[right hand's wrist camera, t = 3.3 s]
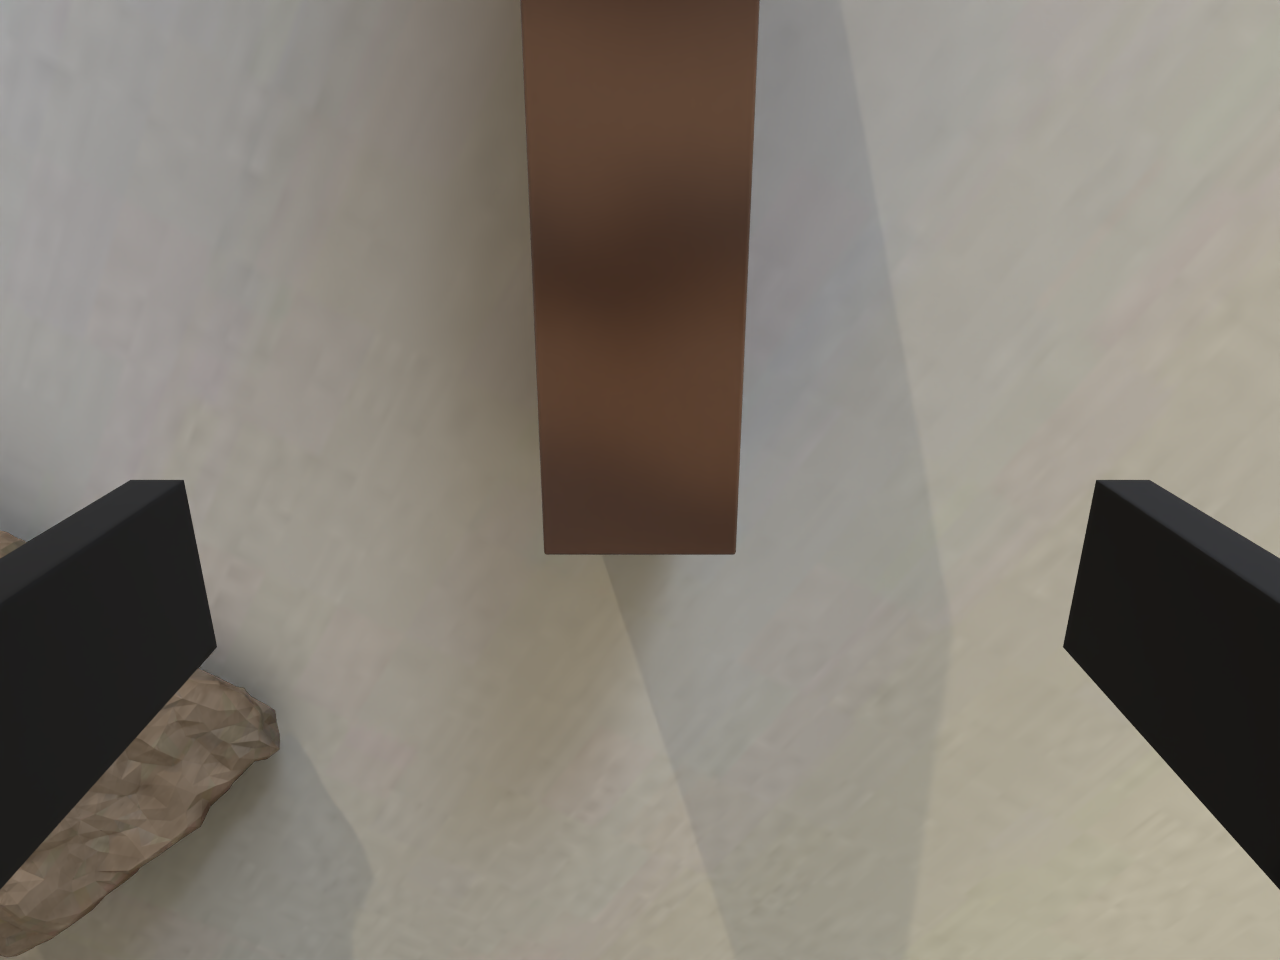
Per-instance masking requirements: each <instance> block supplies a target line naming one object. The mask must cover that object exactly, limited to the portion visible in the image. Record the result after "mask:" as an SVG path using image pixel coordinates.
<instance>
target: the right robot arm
mask: <svg viewBox="0 0 1280 960" xmlns="http://www.w3.org/2000/svg"><path fill="white" fill-rule="evenodd" d="M216 647H217V645H216V640H215V635H214V630H213V625H212V620H211V615H210V610H209V605H208V600H207V595H206V590H205V585H204V580H203V575H202V569H201V564H200V559H199V554H198V549H197V544H196V539H195V534H194V529H193V524H192V519H191V514H190V509H189V504H188V499H187V494H186V489H185V484H184V480H130V481H128V482H126V483H125V484H123V485H121V486H120V487H118V488H116V489H115V490H113V491H111V492H110V493H108V494H107V495H105V496H103V497H102V498H100V499H98V500H97V501H95V502H93V503H92V504H90V505H88V506H87V507H85V508H83V509H82V510H80V511H78V512H77V513H75V514H73V515H72V516H70V517H68V518H67V519H65V520H63V521H62V522H60V523H58V524H57V525H55V526H53V527H52V528H50V529H48V530H47V531H45V532H43V533H42V534H40V535H38V536H37V537H35V538H33V539H32V540H30V541H28V542H27V543H25V544H24V545H22V546H20V547H19V548H17V549H15V550H14V551H12V552H10V553H9V554H7V555H5V556H4V557H2V558H0V889H1V888H2V887H3V886H4V885H5V884H6V883H7V882H8V880H9V879H10V878H11V877H12V876H13V875H14V874H15V873H16V871H17V870H18V869H19V868H20V867H21V866H22V865H23V864H24V863H25V861H26V860H27V859H28V858H29V857H30V856H31V855H32V854H33V852H34V851H35V850H36V849H37V848H38V847H39V846H40V845H41V843H42V842H43V841H44V840H45V839H46V838H47V837H48V836H49V835H50V833H51V832H52V831H53V830H54V829H55V828H56V827H57V826H58V824H59V823H60V822H61V821H62V820H63V819H64V818H65V817H66V815H67V814H68V813H69V812H70V811H71V810H72V809H73V808H74V807H75V805H76V804H77V803H78V802H79V801H80V800H81V799H82V798H83V796H84V795H85V794H86V793H87V792H88V791H89V790H90V789H91V787H92V786H93V785H94V784H95V783H96V782H97V781H98V780H99V779H100V777H101V776H102V775H103V774H104V773H105V772H106V771H107V770H108V768H109V767H110V766H111V765H112V764H113V763H114V762H115V761H116V759H117V758H118V757H119V756H120V755H121V754H122V753H123V752H124V751H125V749H126V748H127V747H128V746H129V745H130V744H131V743H132V742H133V740H134V739H135V738H136V737H137V736H138V735H139V734H140V733H141V731H142V730H143V729H144V728H145V727H146V726H147V725H148V724H149V723H150V721H151V720H152V719H153V718H154V717H155V716H156V715H157V714H158V712H159V711H160V710H161V709H162V708H163V707H164V706H165V705H166V703H167V702H168V701H169V700H170V699H171V698H172V697H173V696H174V695H175V693H176V692H177V691H178V690H179V689H180V688H181V687H182V686H183V684H184V683H185V682H186V681H187V680H188V679H189V678H190V677H191V675H192V674H193V673H194V672H195V671H196V670H197V669H198V668H199V667H200V665H201V664H202V663H203V662H204V661H205V660H206V659H207V658H208V656H209V655H210V654H211V653H212V652H213V651H214V650H215V649H216ZM1063 647H1064V649H1065V650H1066V651H1067V652H1068V653H1069V654H1070V655H1071V656H1072V658H1073V659H1074V660H1075V661H1076V662H1077V663H1078V664H1079V665H1080V667H1081V668H1082V669H1083V670H1084V671H1085V672H1086V673H1087V674H1088V675H1089V677H1090V678H1091V679H1092V680H1093V681H1094V682H1095V683H1096V684H1097V686H1098V687H1099V688H1100V689H1101V690H1102V691H1103V692H1104V693H1105V695H1106V696H1107V697H1108V698H1109V699H1110V700H1111V701H1112V702H1113V703H1114V705H1115V706H1116V707H1117V708H1118V709H1119V710H1120V711H1121V712H1122V714H1123V715H1124V716H1125V717H1126V718H1127V719H1128V720H1129V721H1130V723H1131V724H1132V725H1133V726H1134V727H1135V728H1136V729H1137V730H1138V731H1139V733H1140V734H1141V735H1142V736H1143V737H1144V738H1145V739H1146V740H1147V742H1148V743H1149V744H1150V745H1151V746H1152V747H1153V748H1154V749H1155V751H1156V752H1157V753H1158V754H1159V755H1160V756H1161V757H1162V758H1163V759H1164V761H1165V762H1166V763H1167V764H1168V765H1169V766H1170V767H1171V768H1172V770H1173V771H1174V772H1175V773H1176V774H1177V775H1178V776H1179V777H1180V779H1181V780H1182V781H1183V782H1184V783H1185V784H1186V785H1187V786H1188V787H1189V789H1190V790H1191V791H1192V792H1193V793H1194V794H1195V795H1196V796H1197V798H1198V799H1199V800H1200V801H1201V802H1202V803H1203V804H1204V805H1205V807H1206V808H1207V809H1208V810H1209V811H1210V812H1211V813H1212V814H1213V815H1214V817H1215V818H1216V819H1217V820H1218V821H1219V822H1220V823H1221V824H1222V826H1223V827H1224V828H1225V829H1226V830H1227V831H1228V832H1229V833H1230V835H1231V836H1232V837H1233V838H1234V839H1235V840H1236V841H1237V842H1238V843H1239V845H1240V846H1241V847H1242V848H1243V849H1244V850H1245V851H1246V852H1247V854H1248V855H1249V856H1250V857H1251V858H1252V859H1253V860H1254V861H1255V863H1256V864H1257V865H1258V866H1259V867H1260V868H1261V869H1262V870H1263V871H1264V873H1265V874H1266V875H1267V876H1268V877H1269V878H1270V879H1271V880H1272V882H1273V883H1274V884H1275V885H1276V886H1277V887H1278V888H1279V889H1280V558H1278V557H1276V556H1275V555H1273V554H1271V553H1270V552H1268V551H1266V550H1265V549H1263V548H1261V547H1260V546H1258V545H1256V544H1255V543H1253V542H1252V541H1250V540H1248V539H1247V538H1245V537H1243V536H1242V535H1240V534H1238V533H1237V532H1235V531H1233V530H1232V529H1230V528H1228V527H1227V526H1225V525H1223V524H1222V523H1220V522H1218V521H1217V520H1215V519H1213V518H1212V517H1210V516H1208V515H1207V514H1205V513H1203V512H1202V511H1200V510H1198V509H1197V508H1195V507H1193V506H1192V505H1190V504H1188V503H1187V502H1185V501H1183V500H1182V499H1180V498H1178V497H1177V496H1175V495H1173V494H1172V493H1170V492H1169V491H1167V490H1165V489H1164V488H1162V487H1160V486H1159V485H1157V484H1155V483H1154V482H1152V481H1150V480H1096V484H1095V489H1094V494H1093V499H1092V504H1091V509H1090V514H1089V519H1088V524H1087V529H1086V534H1085V539H1084V544H1083V549H1082V554H1081V559H1080V564H1079V569H1078V575H1077V580H1076V585H1075V590H1074V595H1073V600H1072V605H1071V610H1070V615H1069V620H1068V625H1067V630H1066V635H1065V640H1064V645H1063Z"/></svg>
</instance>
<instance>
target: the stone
mask: <svg viewBox="0 0 1280 960" xmlns="http://www.w3.org/2000/svg"><path fill="white" fill-rule="evenodd" d="M25 543H27V542H25V541H23V540H22V539H18V538H16V537H14V536H13V535H11V534H9V533H7V532H4V531H0V558H2V557H4V556H5V555H7V554H9V553H10V552H12V551H14V550H15V549H17V548H19V547H20V546H22V545H24V544H25ZM279 749H280V734H279V730H278V726H277V722H276V714H275V710H274V709H272V708H271V707H269V706H268V705H266V704H264V703H262V702H260V701H258V700H256V699H255V698H253V697H251V696H250V695H249V694H248V692H247V691H246V690H245V689H244V688H240V687H236V686H234V685H232V684H230V683H228V682H226V681H224V680H222V679H220V678H218V677H216V676H214V675H212V674H210V673H207V672H205V671H203V670H201V669H197V670H196V671H195V672H194V673H193V674H192V675H191V677H190V678H189V679H188V680H187V681H186V682H185V683H184V684H183V686H182V687H181V688H180V689H179V690H178V691H177V692H176V693H175V695H174V696H173V697H172V698H171V699H170V700H169V701H168V702H167V703H166V705H165V706H164V707H163V708H162V709H161V710H160V711H159V712H158V714H157V715H156V716H155V717H154V718H153V719H152V720H151V721H150V723H149V724H148V725H147V726H146V727H145V728H144V729H143V730H142V731H141V733H140V734H139V735H138V736H137V737H136V738H135V739H134V740H133V742H132V743H131V744H130V745H129V746H128V747H127V748H126V749H125V751H124V752H123V753H122V754H121V755H120V756H119V757H118V758H117V759H116V761H115V762H114V763H113V764H112V765H111V766H110V767H109V768H108V770H107V771H106V772H105V773H104V774H103V775H102V776H101V777H100V779H99V780H98V781H97V782H96V783H95V784H94V785H93V786H92V787H91V789H90V790H89V791H88V792H87V793H86V794H85V795H84V796H83V798H82V799H81V800H80V801H79V802H78V803H77V804H76V805H75V807H74V808H73V809H72V810H71V811H70V812H69V813H68V814H67V815H66V817H65V818H64V819H63V820H62V821H61V822H60V823H59V824H58V826H57V827H56V828H55V829H54V830H53V831H52V832H51V833H50V835H49V836H48V837H47V838H46V839H45V840H44V841H43V842H42V843H41V845H40V846H39V847H38V848H37V849H36V850H35V851H34V852H33V854H32V855H31V856H30V857H29V858H28V859H27V860H26V861H25V863H24V864H23V865H22V866H21V867H20V868H19V869H18V870H17V871H16V873H15V874H14V875H13V876H12V877H11V878H10V879H9V880H8V882H7V883H6V884H5V885H4V886H3V887H2V888H1V889H0V955H1V956H5V957H12V956H17V955H20V954H22V953H24V952H26V951H28V950H30V949H32V948H34V947H35V946H37V945H39V944H41V943H43V942H46V941H48V940H50V939H52V938H53V937H54V936H56V935H57V934H59V933H60V932H62V931H63V930H65V929H66V928H68V927H69V926H71V925H72V924H74V923H75V922H76V921H78V920H79V919H80V918H82V917H83V916H85V915H86V914H87V913H89V912H90V911H91V910H93V909H94V908H95V906H96V905H97V904H98V903H99V902H100V901H101V900H102V899H103V898H104V897H105V896H106V895H107V894H108V893H110V892H111V891H113V890H114V889H115V888H117V887H118V886H120V885H121V884H122V883H124V882H125V881H127V880H128V879H129V878H130V877H131V876H133V875H134V874H135V873H136V872H137V871H138V870H139V868H140V867H142V866H143V865H145V864H146V863H148V862H149V861H151V860H153V859H154V858H156V857H157V856H159V855H160V854H161V853H163V852H164V851H166V850H167V849H168V848H170V847H171V846H172V845H174V844H175V843H177V842H178V841H179V840H181V839H182V838H184V837H185V836H187V835H188V834H190V833H191V832H193V831H195V830H196V829H198V828H199V827H201V825H202V823H203V821H204V819H205V817H206V815H207V812H208V810H209V808H210V806H211V805H212V804H213V803H215V802H216V801H217V800H218V799H219V798H220V797H221V796H222V795H223V794H224V793H225V792H226V791H228V790H229V789H230V787H231V785H232V783H233V782H234V781H235V780H236V779H237V778H238V777H239V776H240V775H242V774H243V773H244V771H245V770H246V769H247V768H248V767H249V766H250V765H251V764H252V763H253V762H254V761H259V760H264V759H267V758H269V757H270V756H271V755H273V754H274V753H275V752H277V751H278V750H279Z"/></svg>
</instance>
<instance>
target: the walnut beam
mask: <svg viewBox="0 0 1280 960" xmlns="http://www.w3.org/2000/svg"><path fill="white" fill-rule="evenodd" d="M520 1H521V24H522V47H523V71H524V94H525V117H526V140H527V163H528V187H529V210H530V233H531V256H532V279H533V303H534V326H535V349H536V372H537V395H538V419H539V442H540V465H541V488H542V511H543V535H544V552H545V554H735V552H736V534H737V511H738V488H739V465H740V442H741V418H742V395H743V372H744V349H745V326H746V302H747V279H748V256H749V233H750V210H751V186H752V163H753V140H754V117H755V94H756V70H757V47H758V24H759V1H760V0H520Z"/></svg>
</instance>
